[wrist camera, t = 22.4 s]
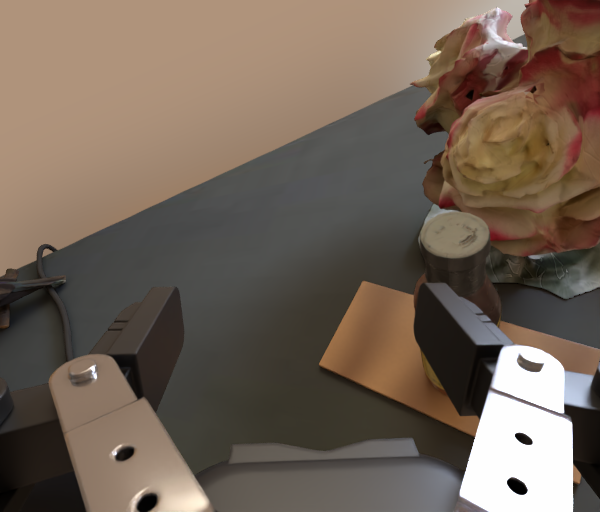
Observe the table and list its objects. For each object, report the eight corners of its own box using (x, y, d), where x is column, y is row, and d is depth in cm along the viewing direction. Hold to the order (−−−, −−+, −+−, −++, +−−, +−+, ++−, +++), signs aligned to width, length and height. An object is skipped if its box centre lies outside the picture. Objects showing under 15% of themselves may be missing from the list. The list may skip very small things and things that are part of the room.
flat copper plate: (319, 366, 41) (318, 364, 41) (363, 282, 47) (362, 280, 46) (578, 485, 29) (579, 484, 28) (599, 352, 34) (601, 349, 34)
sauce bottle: (502, 394, 34) (542, 266, 19) (433, 406, 35) (422, 295, 20) (474, 331, 38) (489, 188, 24) (414, 344, 39) (392, 215, 25)
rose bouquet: (441, 145, 58) (436, -107, 36) (696, 169, 42) (961, -254, 20) (370, 269, 48) (302, 18, 26) (675, 362, 32) (1179, -87, 10)
